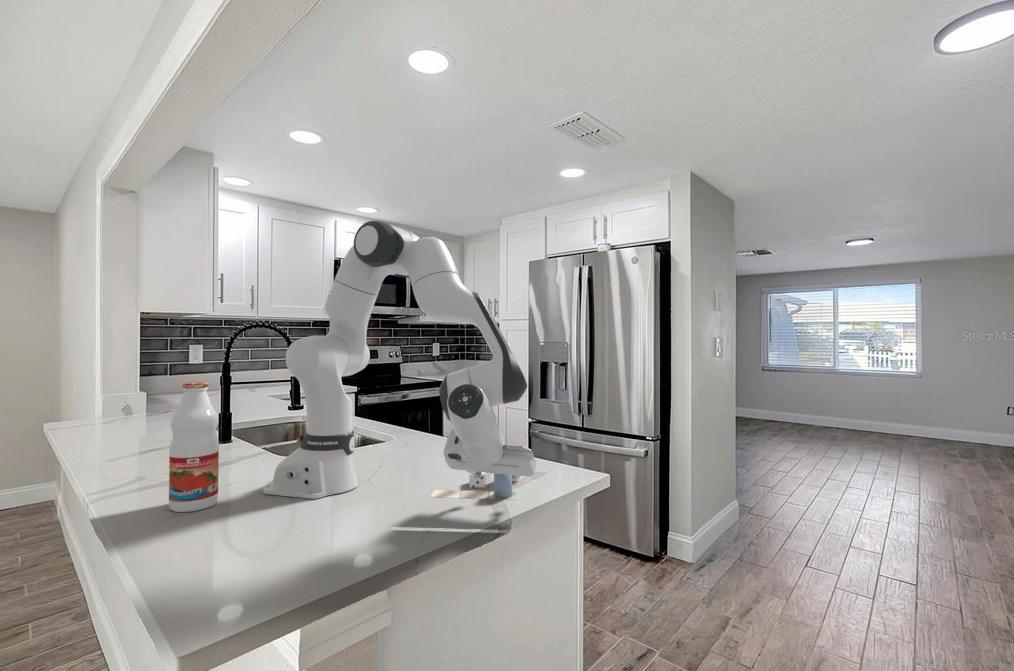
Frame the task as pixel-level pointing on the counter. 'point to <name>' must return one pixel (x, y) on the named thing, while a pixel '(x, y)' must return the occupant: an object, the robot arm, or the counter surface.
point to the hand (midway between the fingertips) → (497, 477)
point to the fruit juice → (194, 451)
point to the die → (477, 480)
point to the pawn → (502, 485)
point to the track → (468, 494)
